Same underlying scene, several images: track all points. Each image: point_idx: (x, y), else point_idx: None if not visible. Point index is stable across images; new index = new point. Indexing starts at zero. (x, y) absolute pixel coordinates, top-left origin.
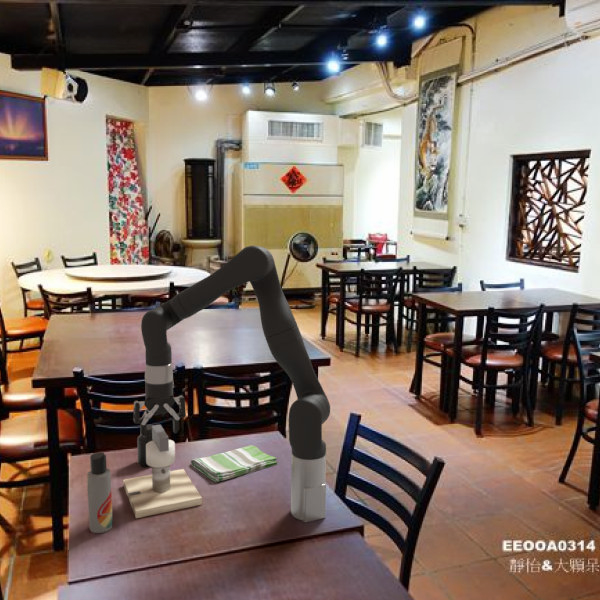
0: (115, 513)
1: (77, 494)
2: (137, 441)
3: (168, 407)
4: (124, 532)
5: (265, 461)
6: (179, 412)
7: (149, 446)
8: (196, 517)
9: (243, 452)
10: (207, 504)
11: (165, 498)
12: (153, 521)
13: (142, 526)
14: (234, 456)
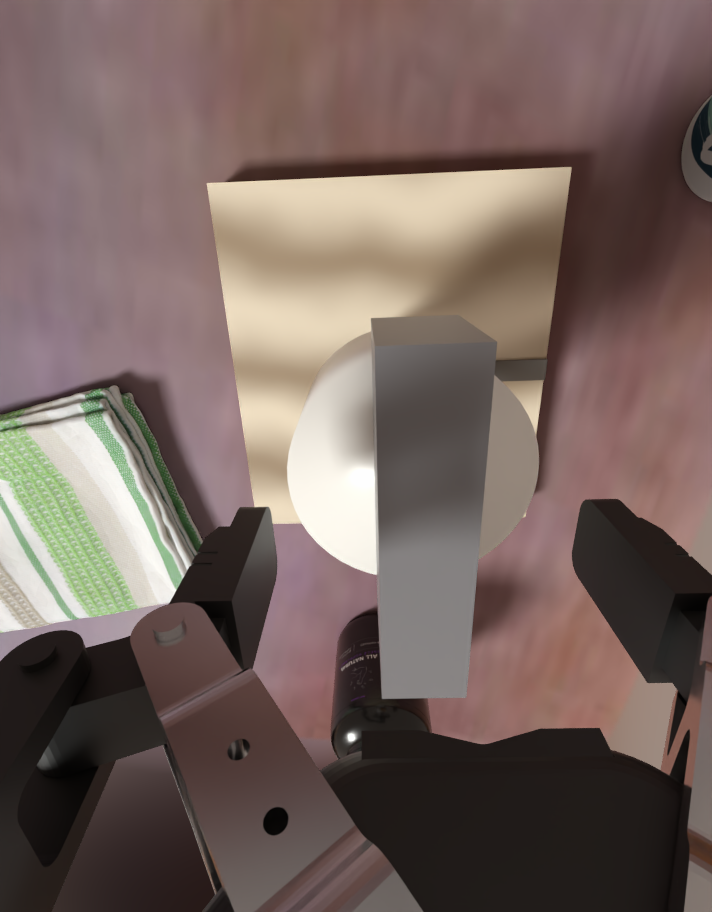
0: (624, 268)
1: (699, 498)
2: (431, 732)
3: (295, 909)
4: (655, 30)
5: None
6: (106, 762)
7: (510, 470)
8: (265, 41)
9: None
10: (190, 178)
11: (393, 256)
12: (486, 98)
13: (552, 62)
14: (23, 569)
